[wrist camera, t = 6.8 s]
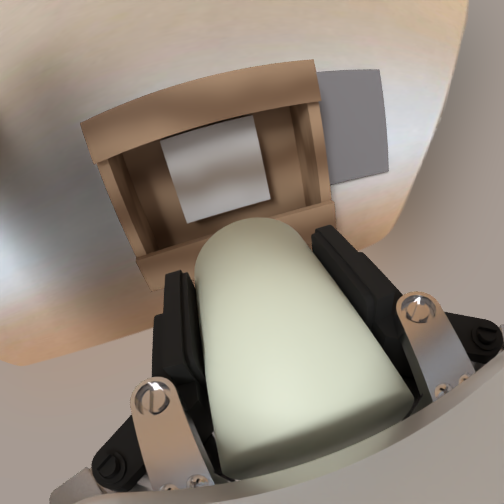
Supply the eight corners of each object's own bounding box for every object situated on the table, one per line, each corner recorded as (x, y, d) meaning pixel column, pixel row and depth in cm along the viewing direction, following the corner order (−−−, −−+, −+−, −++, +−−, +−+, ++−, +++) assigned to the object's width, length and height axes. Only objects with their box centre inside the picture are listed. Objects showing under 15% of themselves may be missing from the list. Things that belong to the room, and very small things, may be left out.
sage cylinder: (178, 237, 9) (187, 449, 3) (302, 203, 10) (440, 357, 4) (213, 326, 12) (246, 488, 6) (311, 296, 12) (390, 437, 6)
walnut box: (101, 117, 21) (79, 123, 16) (289, 65, 22) (313, 59, 17) (155, 259, 30) (151, 291, 25) (314, 212, 31) (336, 236, 26)
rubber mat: (310, 72, 23) (312, 72, 22) (376, 69, 23) (379, 69, 23) (327, 183, 29) (329, 184, 29) (386, 169, 30) (388, 171, 29)
